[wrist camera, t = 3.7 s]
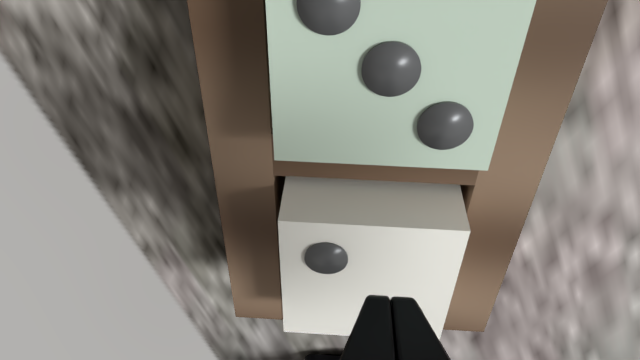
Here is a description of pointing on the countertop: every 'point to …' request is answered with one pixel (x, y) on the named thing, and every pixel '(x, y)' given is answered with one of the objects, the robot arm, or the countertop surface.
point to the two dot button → (367, 249)
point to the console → (476, 185)
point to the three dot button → (392, 79)
